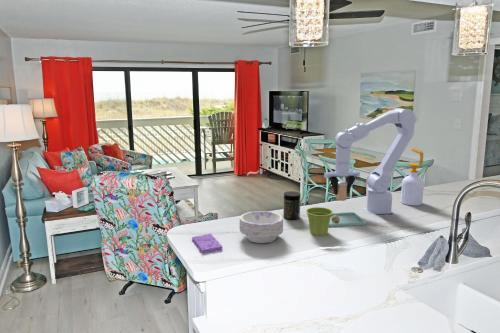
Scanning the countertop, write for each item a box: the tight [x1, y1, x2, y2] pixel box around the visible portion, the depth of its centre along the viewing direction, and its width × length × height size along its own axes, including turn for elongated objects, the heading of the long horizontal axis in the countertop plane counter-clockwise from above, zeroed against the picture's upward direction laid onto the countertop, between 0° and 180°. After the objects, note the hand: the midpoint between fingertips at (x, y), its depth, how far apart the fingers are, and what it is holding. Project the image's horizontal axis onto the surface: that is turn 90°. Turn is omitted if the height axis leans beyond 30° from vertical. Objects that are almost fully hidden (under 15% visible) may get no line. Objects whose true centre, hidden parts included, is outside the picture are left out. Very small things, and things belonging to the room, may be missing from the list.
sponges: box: [191, 232, 223, 254], centre depth 131 cm, size 7×13×2 cm, turn 23°
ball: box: [331, 215, 340, 223], centre depth 148 cm, size 3×3×3 cm
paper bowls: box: [239, 210, 284, 244], centre depth 135 cm, size 15×15×8 cm
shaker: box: [335, 180, 348, 202], centre depth 161 cm, size 5×5×7 cm
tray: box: [329, 211, 367, 228], centre depth 151 cm, size 16×12×2 cm
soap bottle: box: [400, 147, 425, 207], centre depth 172 cm, size 9×9×25 cm
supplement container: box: [282, 191, 302, 221], centre depth 154 cm, size 7×7×10 cm
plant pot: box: [305, 206, 334, 237], centre depth 139 cm, size 9×9×9 cm
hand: (341, 193), depth 161 cm, fingers closed on shaker, 4 cm apart
